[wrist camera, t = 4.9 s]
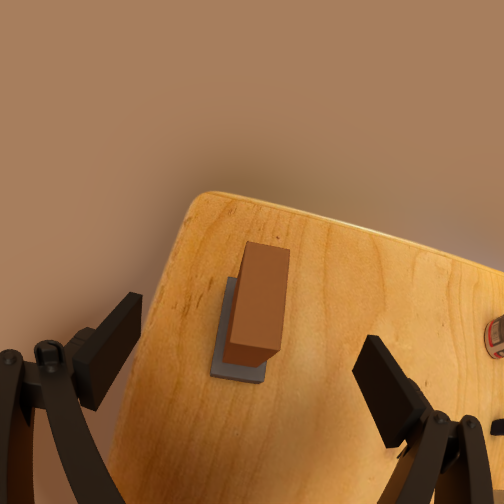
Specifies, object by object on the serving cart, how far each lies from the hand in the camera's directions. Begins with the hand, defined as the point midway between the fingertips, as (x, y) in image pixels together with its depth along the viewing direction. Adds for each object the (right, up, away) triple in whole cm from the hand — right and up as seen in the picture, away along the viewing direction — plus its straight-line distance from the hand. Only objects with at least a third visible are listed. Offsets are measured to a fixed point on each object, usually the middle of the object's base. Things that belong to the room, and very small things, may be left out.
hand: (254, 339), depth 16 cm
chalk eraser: (-1, -2, +9) cm, 9 cm away
